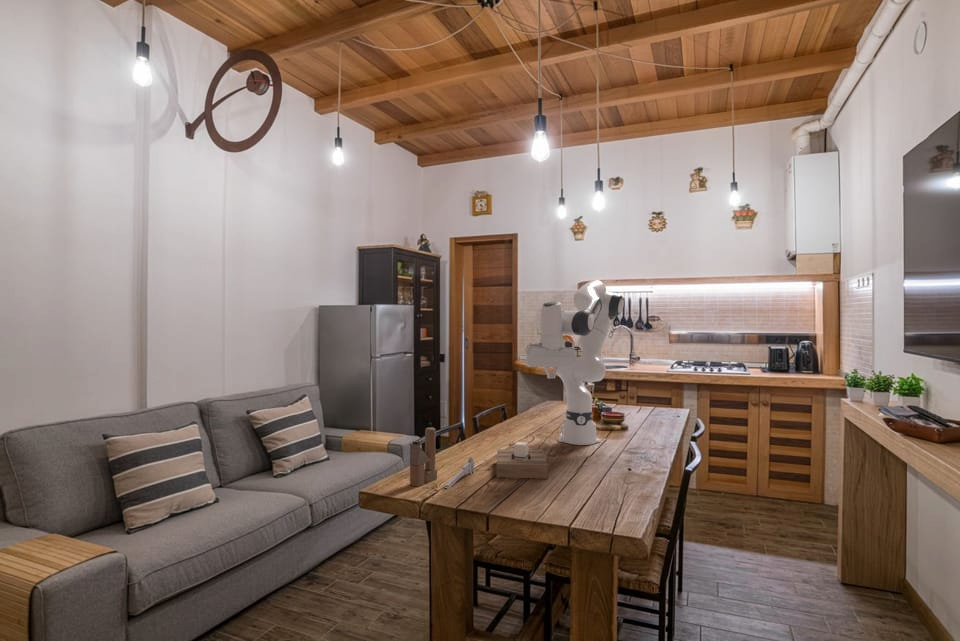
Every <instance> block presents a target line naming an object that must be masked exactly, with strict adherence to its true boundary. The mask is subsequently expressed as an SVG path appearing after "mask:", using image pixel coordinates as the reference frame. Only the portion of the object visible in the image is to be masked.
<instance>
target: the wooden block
mask: <svg viewBox="0 0 960 641" xmlns="http://www.w3.org/2000/svg"><path fill="white" fill-rule="evenodd" d="M424 431H425V432H424V450H423V449H422V448H421V447H420V446H419V445H418V444H415V443H414V444H413V443H410V444H409V469H410V470H409V484H410V486H411V485H412V487H416V488H418V487H421V486H423V485H425V484H426V483H430V482H432V481H434V480H436V479H438V469H437V468H436V428H435V427H432V426H431V427H426V428H425V429H424Z"/></svg>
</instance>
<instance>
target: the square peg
mask: <svg viewBox="0 0 960 641" xmlns="http://www.w3.org/2000/svg"><path fill="white" fill-rule="evenodd" d="M513 446H514V449H513V450H514V459H528V450H529V442H524V441H517V442H515V443H514V444H513Z"/></svg>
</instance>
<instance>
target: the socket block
mask: <svg viewBox="0 0 960 641" xmlns="http://www.w3.org/2000/svg"><path fill="white" fill-rule="evenodd" d="M496 450H497V451H496V452H497V453H496V478H497V477H505V478H504V479H521V478H535V479H536V480H548V478H549V477H548V476H549V475H548V471H549V470H548V467H549V466H548V461H547V458H546V454H545V452H544V450H543V449H528V459H514V449H502V448H500V449H496ZM535 479H534V480H535Z"/></svg>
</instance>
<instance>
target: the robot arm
mask: <svg viewBox="0 0 960 641" xmlns="http://www.w3.org/2000/svg"><path fill="white" fill-rule="evenodd" d="M576 290H577V291H576V292H574V295H573V304H574V307H575V308H576V309H577V310H565V309H563V305H562V303H561V302H560V301H549V302H548V301H547V302H545V303H543V304H542V305H541V309H540V317H539V318H540V320H539V324H540V333H539V338H540V339H539V342H536V343H534V342H533V343H531V342H530V343H528V345H527V344H526V345H527V346H526V347H525V353H526V356H525V365H526V366H527V367H528V368H543V370H544V371H545V373H546V379H556V375H557V377H559V378H560V380H561V382H562V383H563V385H564V388H565V391H566V412H565V418H566V419H565V421H564V422H563V423H562V424H561V426H560V431H561V432H560V435H559V436H558V440H557V441H558V442H561V443H566V444H569V445H575V446H576V445H577V446H589V445H594V444H596V443H600V442H601V439H599V437H597V424H596V423H595V422H594V421H593V419H594V412H593V410H592V409H593V408H592V407H593V406H592V405H593V404H592V403H593V399H592V398H593V396H592V393H591V392H590V391H589V390H588V389H587V388H586V386H585V384H584V383H585V382H586V383H587V382H588V383H593V382H600V381H602V380H603V379H604V378H605V376H606V372H607V369H606V365H605V363H604V361H603V360H602V358H601V352H602V348H603V344H604V342H605V340H606V337H607V335H608V331H609V327H610V321H612V320H614V318H616V317H618V316H619V315H620V314H621V313H622V311H623V310H624V306H625V300H624V297H623V295H621V294H619V293H616V292H611V291H607V287H606V285H605V283H603V282H602V281H601V280H599V279H598V280H597V279H594V280H593V279H592V280H590V281H588V282H587V283H585V284H583V285H582V286H581V287H580V288H578V289H576ZM564 335H570V336H571V335H572V336H574V335H576V336H579V338H578V340H577V345H578V347H579V349H580V351H582V352H581V355H580V356H577V351H576V349H575V344H576V343H575V342H573V341H570V340H567V339H564ZM550 368H552V370H553V372H552V373H550V371H549V370H550Z"/></svg>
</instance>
